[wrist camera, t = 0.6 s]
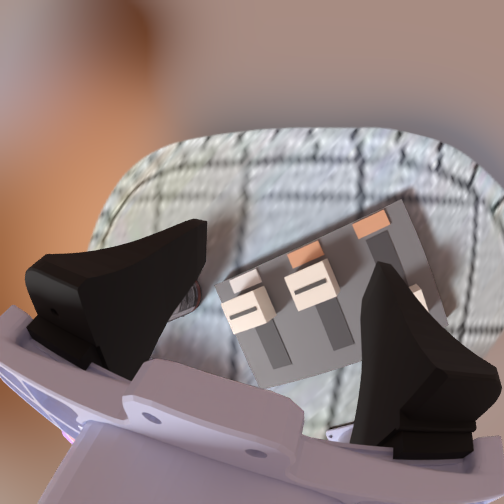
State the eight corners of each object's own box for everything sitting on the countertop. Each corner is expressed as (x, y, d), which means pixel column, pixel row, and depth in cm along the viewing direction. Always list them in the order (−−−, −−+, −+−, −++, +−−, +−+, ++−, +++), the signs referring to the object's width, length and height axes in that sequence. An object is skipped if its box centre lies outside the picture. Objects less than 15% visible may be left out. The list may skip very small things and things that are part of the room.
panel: (444, 320, 27) (449, 326, 25) (266, 382, 36) (259, 390, 34) (399, 201, 29) (401, 198, 27) (222, 282, 38) (213, 285, 35)
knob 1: (276, 315, 32) (266, 323, 29) (246, 326, 34) (233, 334, 31) (264, 285, 33) (252, 290, 30) (234, 298, 34) (220, 304, 31)
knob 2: (340, 289, 30) (336, 296, 27) (305, 303, 31) (298, 311, 28) (327, 258, 30) (322, 261, 27) (292, 273, 32) (283, 277, 28)
